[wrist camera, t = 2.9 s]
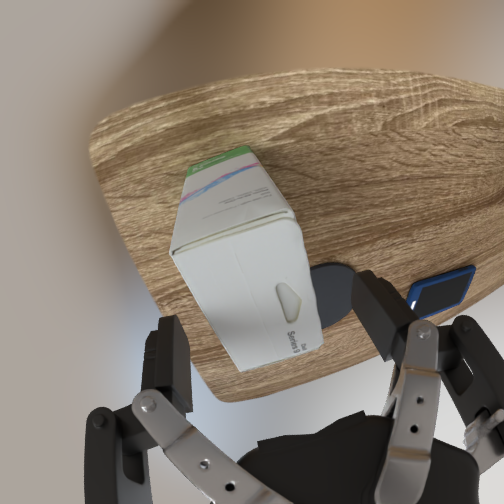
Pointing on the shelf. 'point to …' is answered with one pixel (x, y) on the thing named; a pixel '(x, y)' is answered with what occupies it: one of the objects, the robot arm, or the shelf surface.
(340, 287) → the felt coaster
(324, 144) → the shelf surface
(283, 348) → the ink box
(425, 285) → the cell phone
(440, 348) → the robot arm
